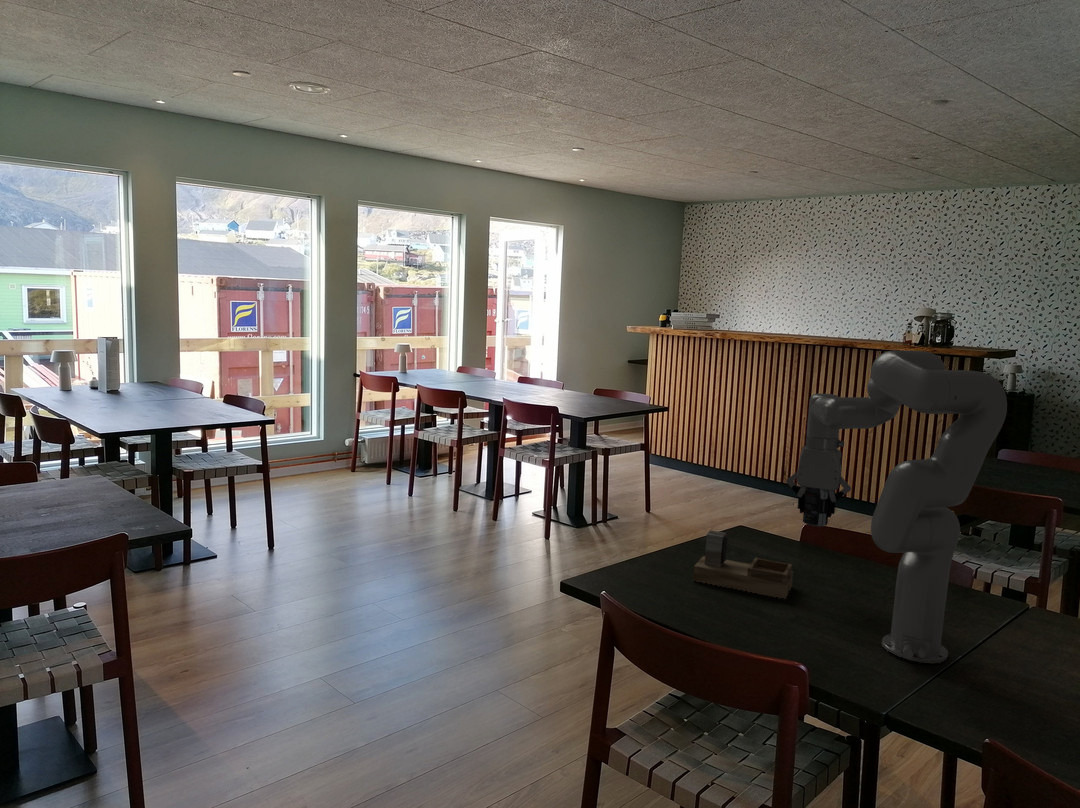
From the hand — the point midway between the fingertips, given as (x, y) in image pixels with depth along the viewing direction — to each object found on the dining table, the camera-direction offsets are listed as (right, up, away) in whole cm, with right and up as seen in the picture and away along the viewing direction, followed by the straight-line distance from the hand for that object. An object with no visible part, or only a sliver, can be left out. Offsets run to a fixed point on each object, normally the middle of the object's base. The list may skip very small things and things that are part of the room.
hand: (815, 513), depth 197 cm
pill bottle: (0, -3, 0) cm, 3 cm away
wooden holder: (-18, -18, +3) cm, 26 cm away
